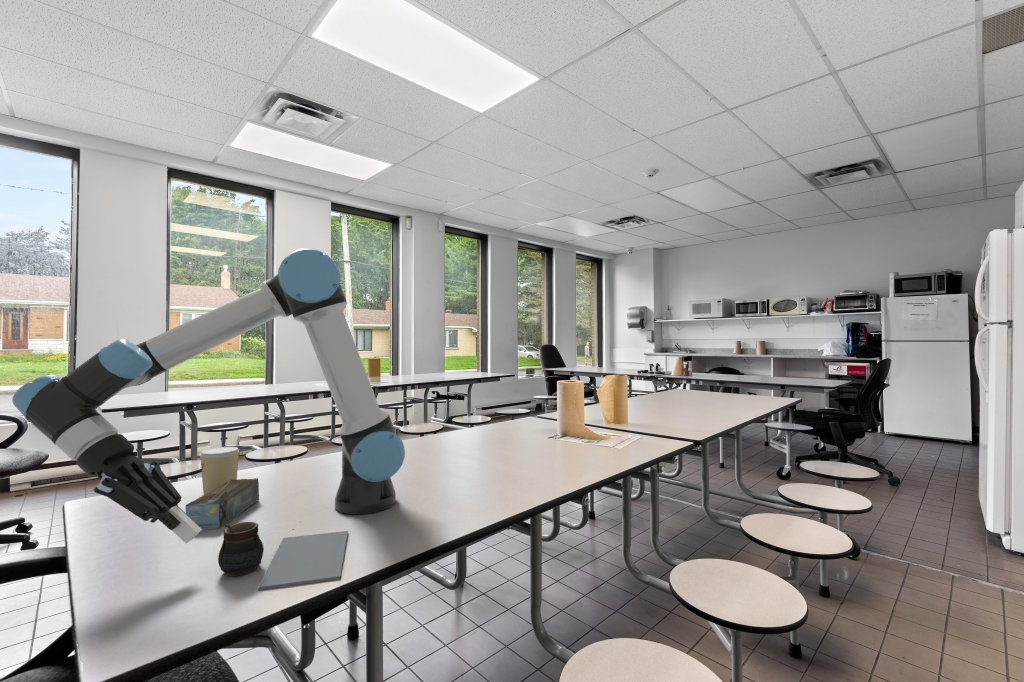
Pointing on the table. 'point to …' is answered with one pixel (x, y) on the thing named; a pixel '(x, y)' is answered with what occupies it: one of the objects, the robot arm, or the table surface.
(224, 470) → the coffee cup
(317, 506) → the table surface
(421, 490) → the table surface
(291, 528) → the table surface
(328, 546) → the mat
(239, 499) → the beverage carton
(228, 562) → the mate gourd
